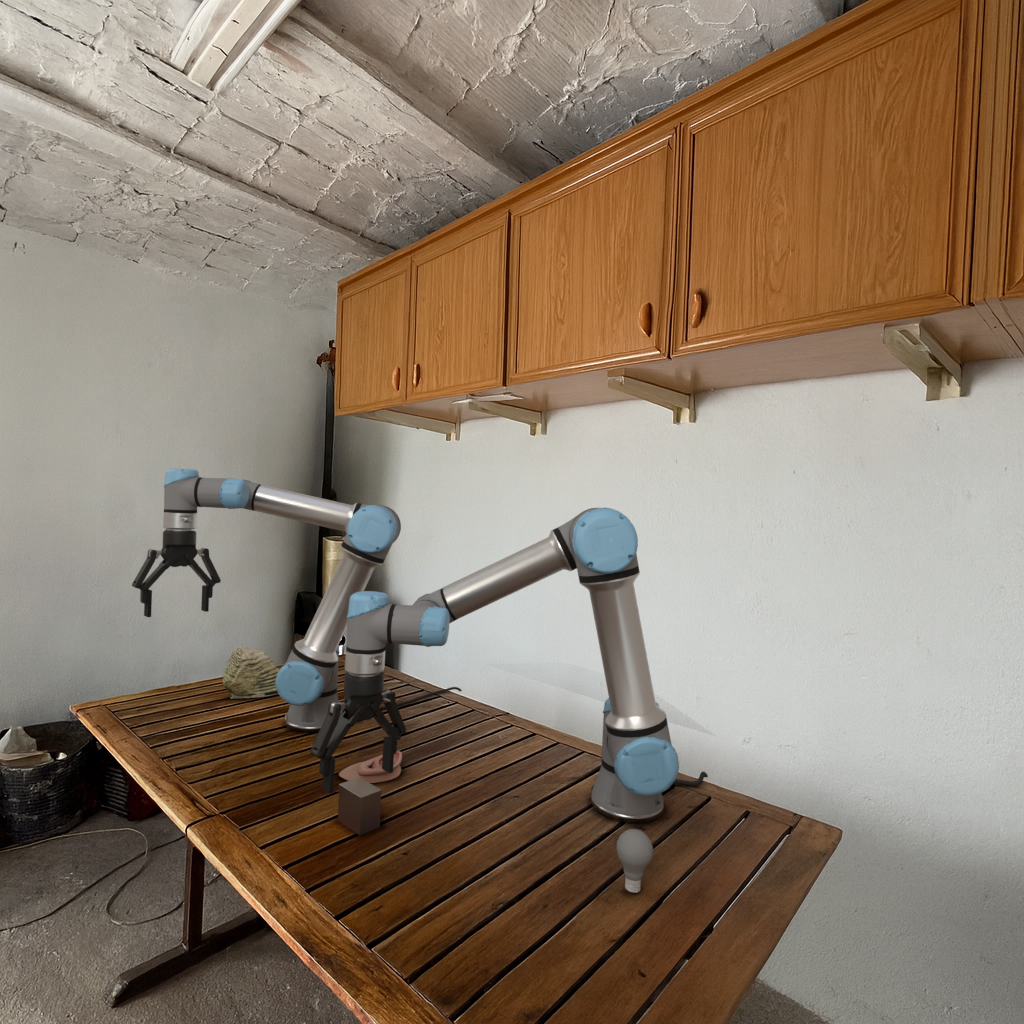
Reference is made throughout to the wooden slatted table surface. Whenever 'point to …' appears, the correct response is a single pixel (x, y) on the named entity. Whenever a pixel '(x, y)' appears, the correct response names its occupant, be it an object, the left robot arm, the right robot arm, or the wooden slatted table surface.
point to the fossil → (250, 674)
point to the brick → (359, 805)
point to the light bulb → (634, 857)
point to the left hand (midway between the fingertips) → (177, 613)
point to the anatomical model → (372, 770)
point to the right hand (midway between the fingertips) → (358, 780)
